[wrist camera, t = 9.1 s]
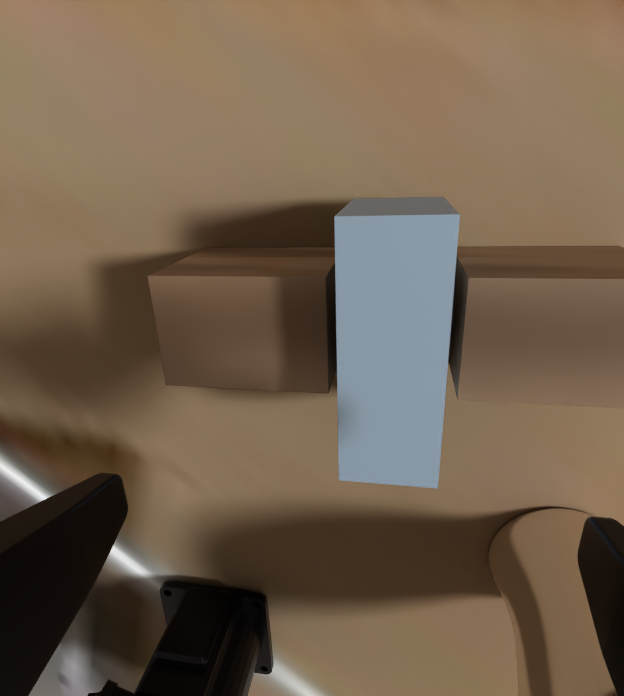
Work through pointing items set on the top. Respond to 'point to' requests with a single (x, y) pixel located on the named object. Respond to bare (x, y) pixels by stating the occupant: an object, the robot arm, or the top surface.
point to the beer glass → (549, 605)
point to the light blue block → (393, 336)
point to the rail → (466, 324)
